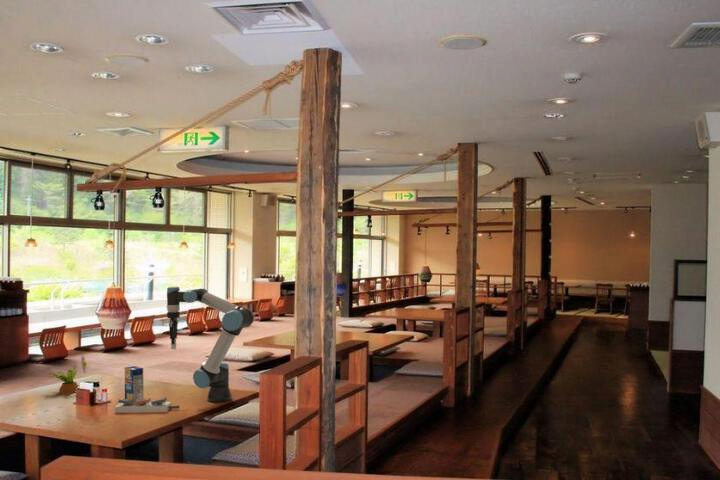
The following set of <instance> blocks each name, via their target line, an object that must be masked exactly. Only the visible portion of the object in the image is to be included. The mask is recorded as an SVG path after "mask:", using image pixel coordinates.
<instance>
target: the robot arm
mask: <svg viewBox="0 0 720 480" xmlns="http://www.w3.org/2000/svg"><path fill="white" fill-rule="evenodd" d="M166 301H167V302H166V306H165V308H166V310H167V313H166V315H167V316H166V318H167V319H169V323H168V328H169V340H170V347H171V348H170V349H171V350H177V339H178V325H179V321H178V320H177V319H180V317H181V315H180V303H187V304H189V303H190V304H191V303H195V302H199V303H201V304H203V305H206V306H208V307H210V308H213V309H214V310H217V311H219V312H221V313H223V316H222V318H221V322H222V323H221V329H222V331H221V333H220V334H219V336H218V338H217V340H216V341H215V345H214V346H213V348H212V350H211V351H210V354H209V355H208V358H207V360H206V361H204V362H202V364H201V365H200V367H199V368H198V369H196V370H195V371H194V372H193V374H192V380H193V383H194V384H195V386H196V387H197V388H199V389H206V388H209V391H208V393H207V396H206V398H207V399H206V400H207V401H208V402H211V403H221V402H222V403H224V402H228V401H231V400H233V399H232V395H233V394H232V393H231V390H230V386H229V385H230V384H229V382H230V379H229V378H230V375H229V374H230V372H229V371H230V370H229V364H228V363H226V362H223V361H224V359H225V357H226V355H227V354H228V351H229V350H230V348H231V346H232V344H233V342H234V341H235V338H236V337H239V335H240V334H241V332H242V331H243V329H245V328H249V327H250V326H251V325H253V323H254V321H255V316H254V313H253V311H252V310H251V309H249V308H247V307H245V306H243V305H242V304H241V305H236V304H235V303H232V302H230V301H228V300H225V299H223V298H221V297H219V296H216V295H214V294H212V293H210V292H208V290H207V289H206V288H195V289H187V290H185V289H184V290H183V289H182V290H181V289H180V287H179V286H168V287H167V289H166Z"/></svg>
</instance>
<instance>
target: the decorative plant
mask: <svg viewBox="0 0 720 480" xmlns="http://www.w3.org/2000/svg"><path fill="white" fill-rule="evenodd" d="M80 359H81V361H80V363H81V364H80V366H81V367H82V370H83V373H84V375H86V373H87V365H88V363H87V361H86V359H85V356H84V355H81V357H80ZM75 369H76V364H74V365H73V367H72V370H71V369H67V373H66V375H65V374H64V372H62V371H58V374H61V375H58V374H56V373H53V372H48V375H49V377H48V378H49V379H51V378H52V379H53V378H56V379H58V380H61V381H62V384H61V385H60V388H58V389H59V390H58V394H61V395H67V394H68V395H69V394H76V393H75V391H76V388H77V387H78V386H79V384H77V383H78V382H77V381H74V378H75V376H76V375H77V372H78V370H75ZM50 375H51V376H50Z"/></svg>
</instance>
